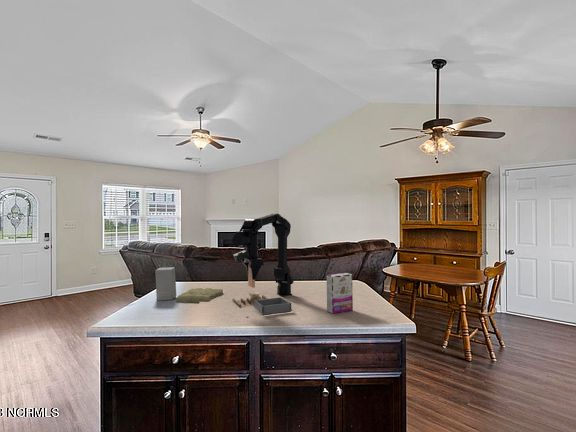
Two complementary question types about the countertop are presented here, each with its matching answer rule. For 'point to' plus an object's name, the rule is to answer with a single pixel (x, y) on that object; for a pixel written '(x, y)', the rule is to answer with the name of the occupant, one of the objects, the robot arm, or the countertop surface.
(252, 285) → the slat
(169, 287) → the skincare box
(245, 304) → the rack
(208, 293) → the decorative tile
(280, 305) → the tray
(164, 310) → the countertop surface
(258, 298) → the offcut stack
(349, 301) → the candy bar box
